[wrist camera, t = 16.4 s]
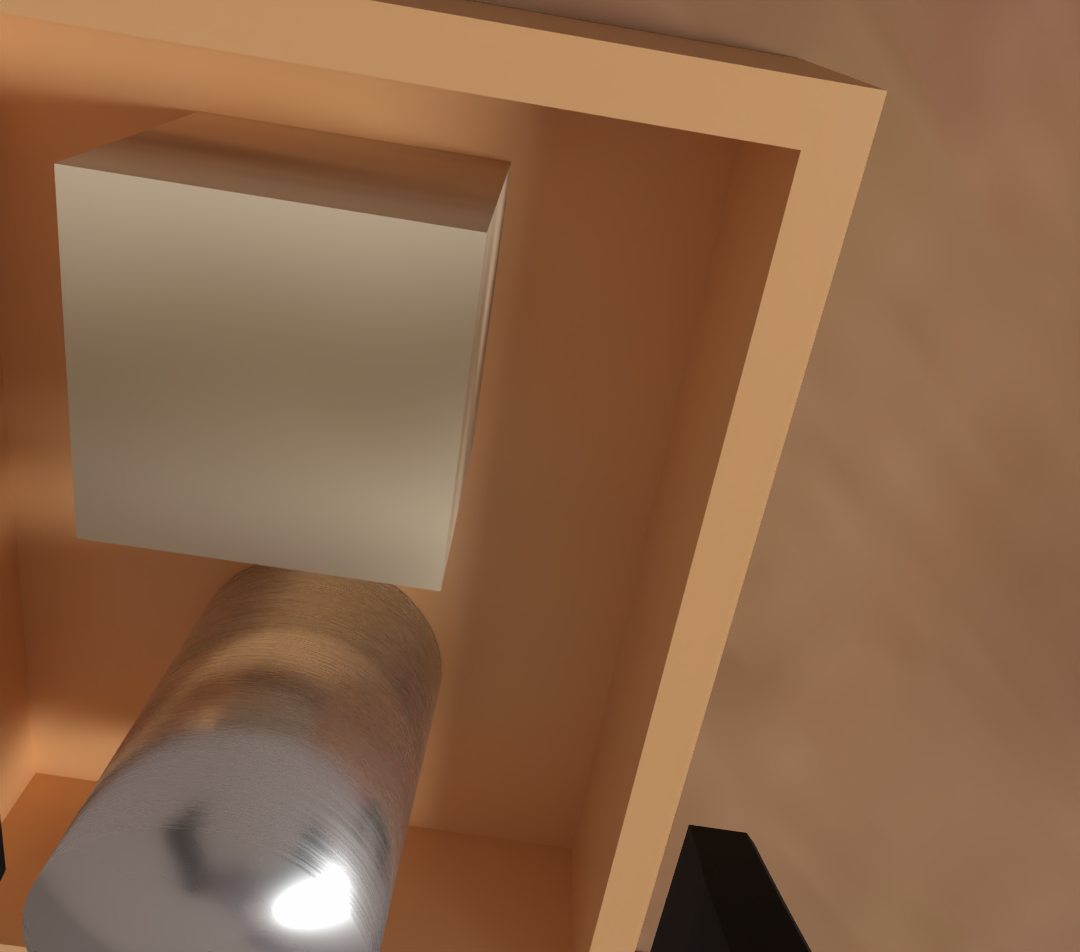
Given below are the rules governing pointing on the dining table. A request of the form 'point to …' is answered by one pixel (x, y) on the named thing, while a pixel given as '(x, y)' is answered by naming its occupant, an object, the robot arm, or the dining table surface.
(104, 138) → the light wood open box
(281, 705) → the steel cylinder
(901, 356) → the dining table surface
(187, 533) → the beech cube
